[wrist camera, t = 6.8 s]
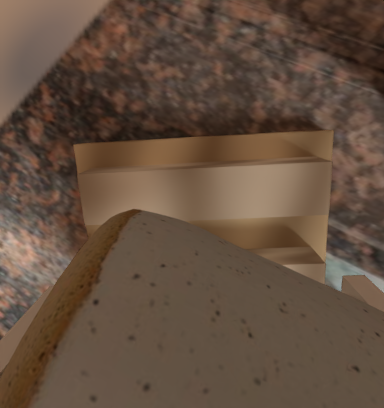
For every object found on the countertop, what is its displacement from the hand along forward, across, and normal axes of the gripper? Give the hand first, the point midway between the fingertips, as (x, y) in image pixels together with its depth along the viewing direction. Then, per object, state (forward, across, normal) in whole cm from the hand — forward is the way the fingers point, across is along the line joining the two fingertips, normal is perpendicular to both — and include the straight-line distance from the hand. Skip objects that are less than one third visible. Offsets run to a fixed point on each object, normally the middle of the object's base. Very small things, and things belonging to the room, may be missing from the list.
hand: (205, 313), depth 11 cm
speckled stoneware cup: (+1, 0, +1) cm, 1 cm away
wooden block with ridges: (+11, 0, 0) cm, 11 cm away
